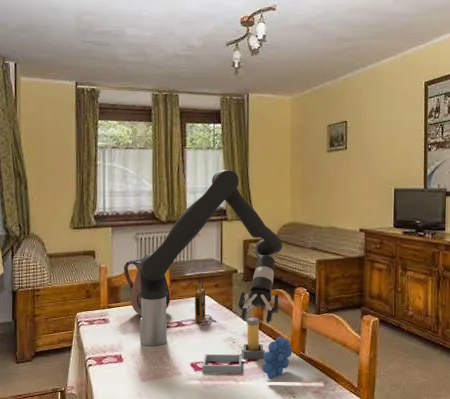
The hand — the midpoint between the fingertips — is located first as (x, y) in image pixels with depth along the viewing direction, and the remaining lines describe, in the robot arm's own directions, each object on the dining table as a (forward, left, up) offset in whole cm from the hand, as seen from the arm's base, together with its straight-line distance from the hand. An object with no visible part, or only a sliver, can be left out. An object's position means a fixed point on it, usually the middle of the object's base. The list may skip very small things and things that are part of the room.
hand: (255, 321), depth 149 cm
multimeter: (-20, +35, -11) cm, 42 cm away
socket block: (-1, -4, -11) cm, 12 cm away
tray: (-11, -14, -11) cm, 21 cm away
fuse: (-1, -4, -10) cm, 11 cm away
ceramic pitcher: (-49, +43, -11) cm, 66 cm away
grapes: (+6, -18, -11) cm, 22 cm away
